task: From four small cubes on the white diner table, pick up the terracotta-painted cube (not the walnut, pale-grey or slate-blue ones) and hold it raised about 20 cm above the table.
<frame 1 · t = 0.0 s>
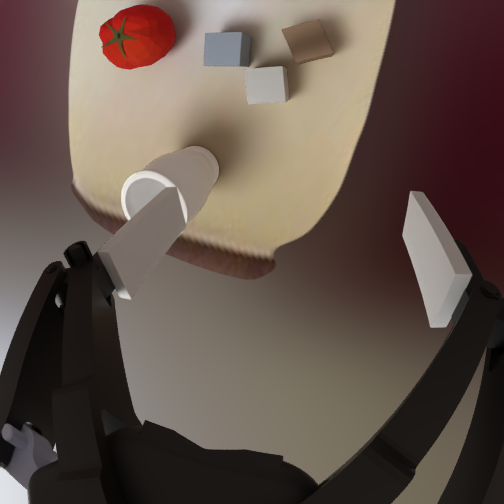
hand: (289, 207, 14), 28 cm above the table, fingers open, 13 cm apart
tomato: (154, 37, 32), on the table
slate cube: (233, 51, 32), on the table
walnut cube: (309, 45, 29), on the table
jar: (197, 167, 45), on the table
grey cube: (271, 84, 34), on the table
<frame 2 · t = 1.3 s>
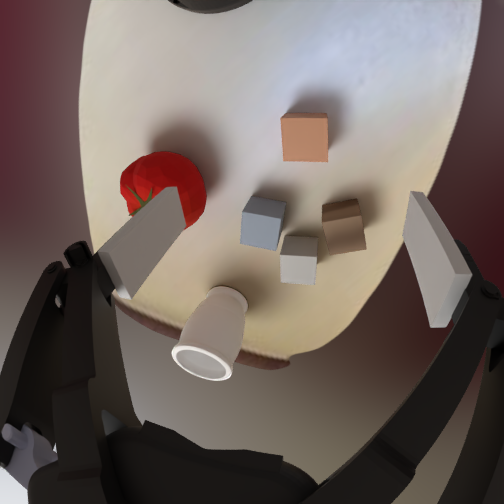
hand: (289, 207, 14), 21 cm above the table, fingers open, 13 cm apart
tomato: (179, 177, 39), on the table
terracotta cube: (306, 131, 31), on the table
slate cube: (266, 214, 40), on the table
walnut cube: (343, 217, 37), on the table
jar: (227, 300, 53), on the table
grey cube: (301, 249, 42), on the table
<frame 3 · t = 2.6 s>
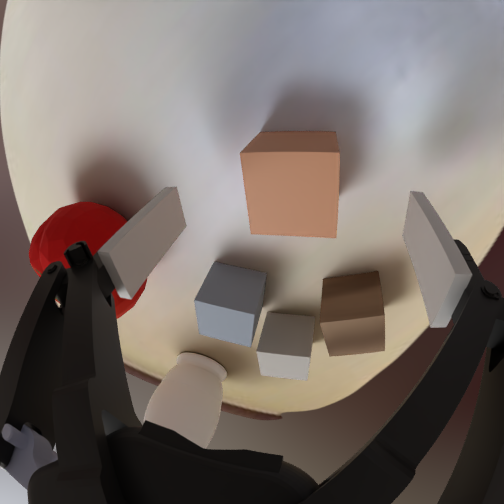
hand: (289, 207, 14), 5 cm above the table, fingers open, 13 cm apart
tomato: (116, 230, 26), on the table
terracotta cube: (299, 165, 18), on the table
slate cube: (239, 285, 27), on the table
walnut cube: (354, 294, 24), on the table
jar: (202, 364, 40), on the table
grey cube: (291, 328, 29), on the table
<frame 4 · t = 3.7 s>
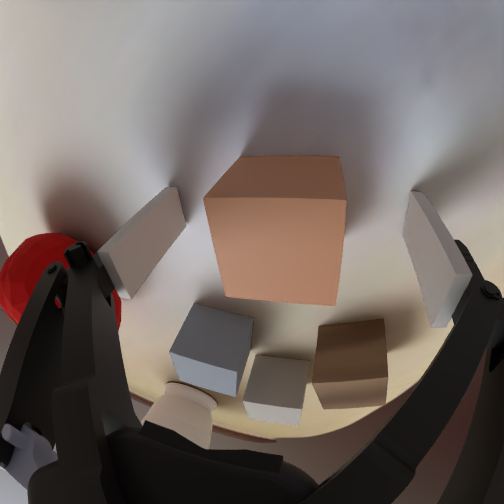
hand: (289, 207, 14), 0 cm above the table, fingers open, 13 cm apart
tomato: (88, 261, 23), on the table
terracotta cube: (291, 199, 14), on the table
slate cube: (223, 328, 23), on the table
walnut cube: (354, 340, 20), on the table
jar: (191, 393, 36), on the table
grey cube: (282, 369, 25), on the table
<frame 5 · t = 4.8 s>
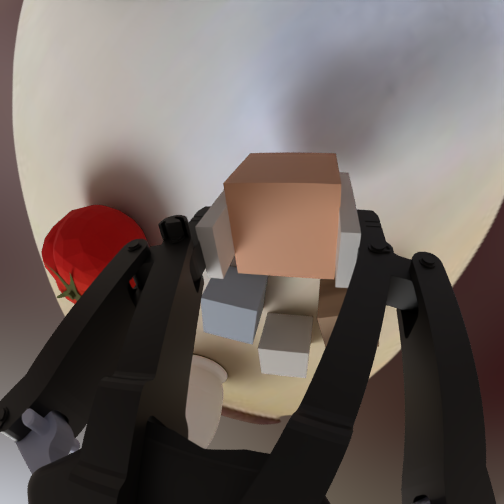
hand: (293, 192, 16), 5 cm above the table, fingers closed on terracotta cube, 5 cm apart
tomato: (125, 233, 28), on the table
terracotta cube: (294, 191, 16), point 4 cm above the table, touching gripper
slate cube: (242, 286, 28), on the table
walnut cube: (349, 294, 26), on the table
jar: (203, 366, 41), on the table
grey cube: (290, 328, 31), on the table
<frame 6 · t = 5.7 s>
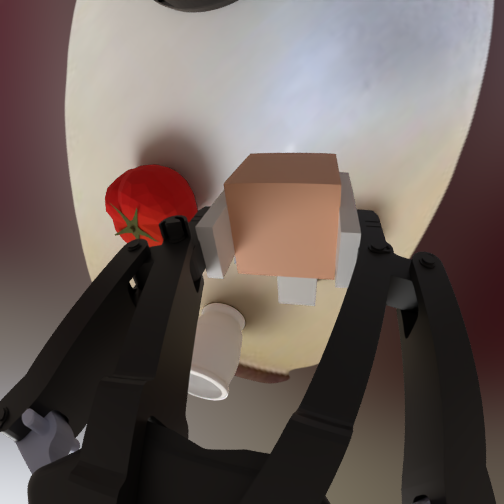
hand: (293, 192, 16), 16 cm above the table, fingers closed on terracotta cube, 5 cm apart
tomato: (169, 191, 37), on the table
terracotta cube: (294, 192, 16), point 15 cm above the table, touching gripper
jar: (224, 316, 50), on the table
grey cube: (300, 267, 39), on the table
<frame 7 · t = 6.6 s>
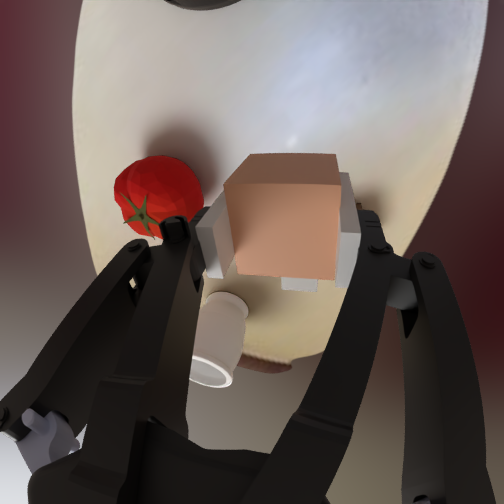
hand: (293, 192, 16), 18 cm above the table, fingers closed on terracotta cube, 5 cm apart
tomato: (175, 181, 38), on the table
terracotta cube: (294, 192, 16), point 17 cm above the table, touching gripper
jar: (227, 305, 52), on the table
grey cube: (302, 255, 40), on the table
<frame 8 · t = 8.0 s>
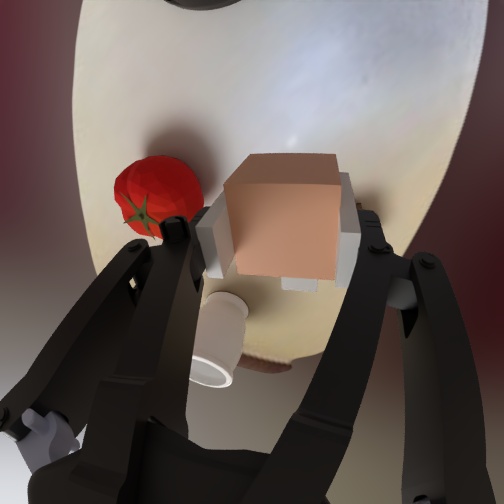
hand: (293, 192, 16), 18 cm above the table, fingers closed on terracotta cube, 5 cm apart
tomato: (175, 181, 38), on the table
terracotta cube: (294, 192, 16), point 17 cm above the table, touching gripper
jar: (227, 305, 52), on the table
grey cube: (302, 255, 40), on the table
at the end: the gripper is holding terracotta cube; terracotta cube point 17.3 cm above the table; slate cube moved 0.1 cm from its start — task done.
